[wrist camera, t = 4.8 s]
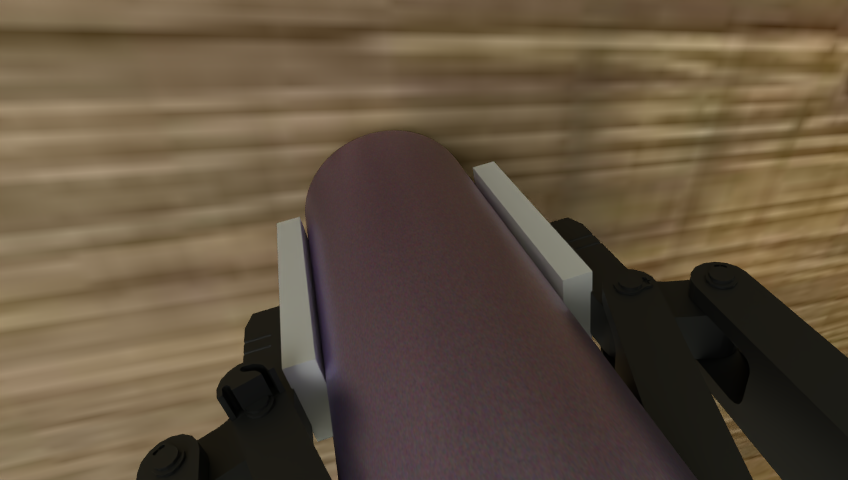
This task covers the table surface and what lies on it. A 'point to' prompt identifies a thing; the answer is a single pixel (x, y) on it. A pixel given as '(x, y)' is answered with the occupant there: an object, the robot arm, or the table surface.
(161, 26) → the table surface
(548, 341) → the beverage can
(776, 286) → the table surface
